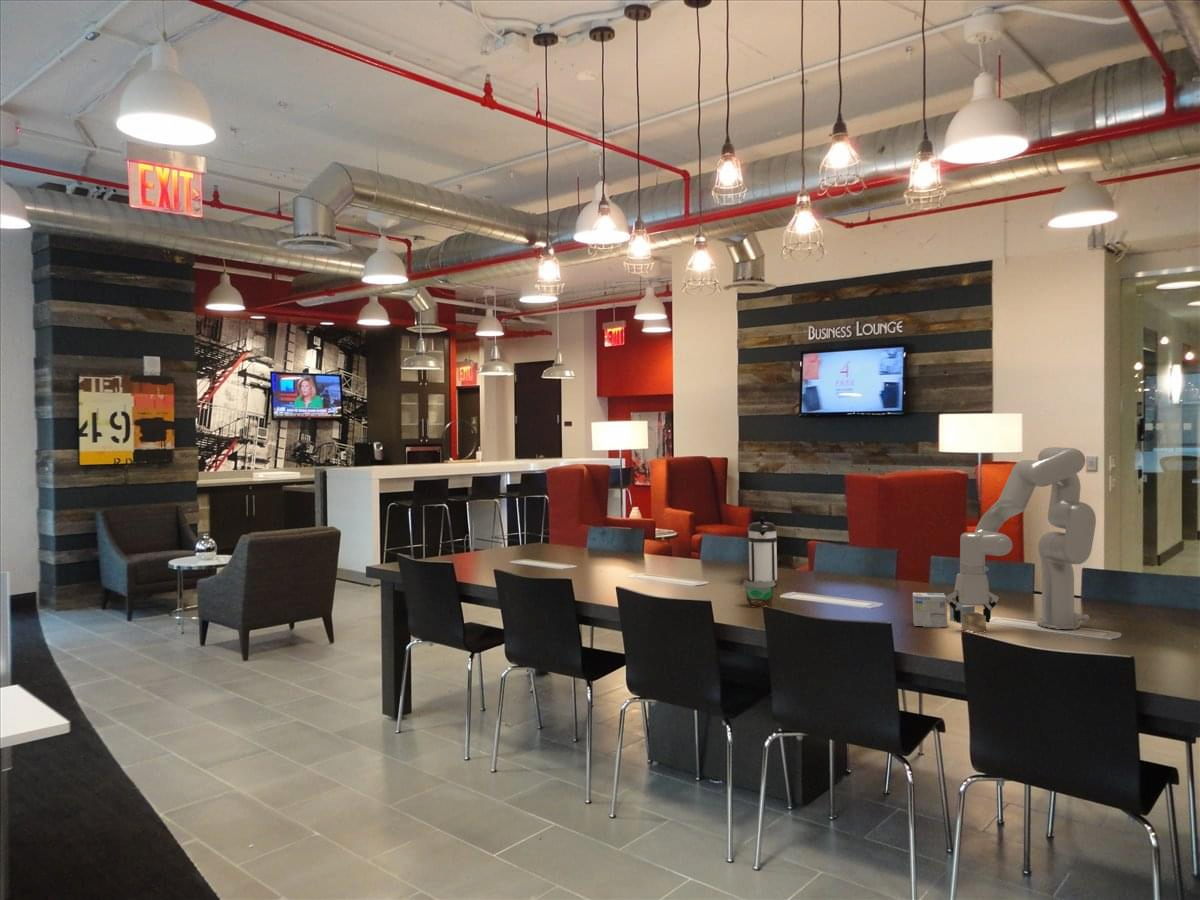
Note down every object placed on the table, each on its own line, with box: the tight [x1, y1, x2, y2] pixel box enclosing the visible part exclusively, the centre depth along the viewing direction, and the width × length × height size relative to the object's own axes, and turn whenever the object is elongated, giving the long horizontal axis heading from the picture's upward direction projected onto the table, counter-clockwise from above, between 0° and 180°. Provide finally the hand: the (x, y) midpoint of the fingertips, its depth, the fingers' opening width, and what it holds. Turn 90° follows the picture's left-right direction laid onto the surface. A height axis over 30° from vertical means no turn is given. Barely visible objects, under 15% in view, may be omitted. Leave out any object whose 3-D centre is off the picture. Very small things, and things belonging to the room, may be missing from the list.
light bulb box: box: [912, 592, 948, 628], centre depth 286 cm, size 11×7×11 cm, turn 74°
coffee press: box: [747, 516, 778, 586], centre depth 370 cm, size 17×16×30 cm
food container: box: [743, 579, 776, 608], centre depth 323 cm, size 12×6×10 cm, turn 76°
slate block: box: [949, 605, 976, 624], centre depth 291 cm, size 4×7×6 cm, turn 16°
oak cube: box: [961, 612, 987, 633], centre depth 278 cm, size 6×6×6 cm
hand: (971, 621), depth 278 cm, fingers open, 9 cm apart
